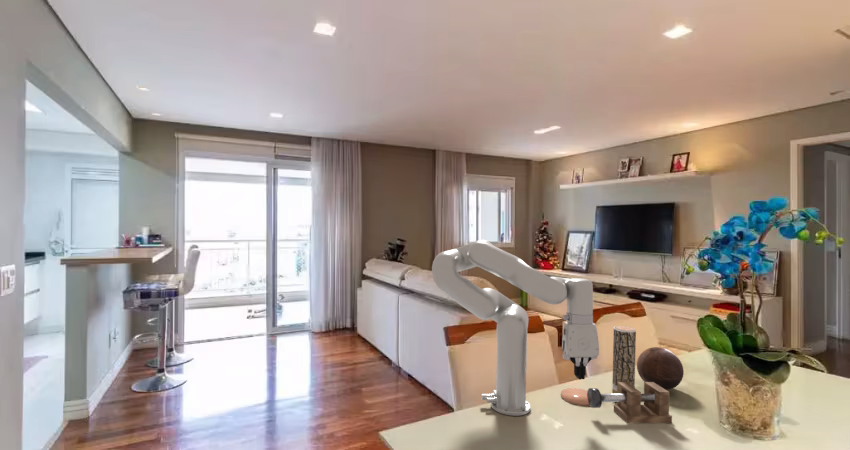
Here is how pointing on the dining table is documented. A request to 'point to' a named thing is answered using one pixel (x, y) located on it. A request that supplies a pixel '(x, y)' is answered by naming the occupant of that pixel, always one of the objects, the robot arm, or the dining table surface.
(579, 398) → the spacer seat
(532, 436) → the dining table surface
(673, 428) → the dining table surface
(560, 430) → the dining table surface
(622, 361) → the paper tube
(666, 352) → the wooden sphere
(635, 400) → the bearing housing
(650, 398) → the shaft
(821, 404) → the dining table surface
